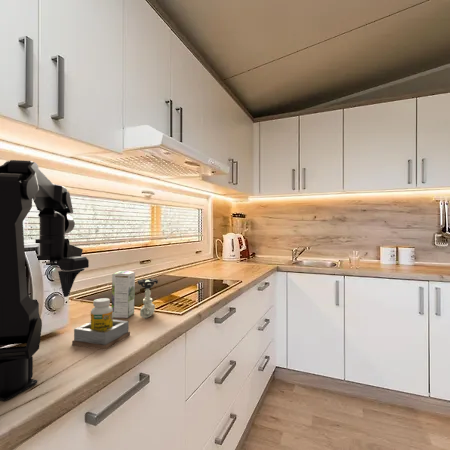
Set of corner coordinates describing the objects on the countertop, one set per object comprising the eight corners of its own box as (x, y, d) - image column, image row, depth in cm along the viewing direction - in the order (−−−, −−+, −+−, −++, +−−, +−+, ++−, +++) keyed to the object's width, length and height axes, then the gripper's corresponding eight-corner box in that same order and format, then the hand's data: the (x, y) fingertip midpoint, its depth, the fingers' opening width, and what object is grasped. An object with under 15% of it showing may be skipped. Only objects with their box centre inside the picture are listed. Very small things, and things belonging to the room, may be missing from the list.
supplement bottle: (112, 331, 83) (112, 296, 83) (113, 338, 78) (113, 301, 78) (90, 334, 81) (91, 298, 81) (90, 341, 76) (90, 303, 76)
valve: (159, 313, 104) (159, 278, 104) (155, 319, 98) (155, 282, 98) (140, 313, 104) (140, 278, 104) (135, 319, 97) (135, 282, 97)
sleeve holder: (105, 350, 74) (105, 333, 74) (72, 345, 77) (72, 329, 77) (130, 335, 83) (130, 321, 83) (99, 331, 86) (99, 317, 86)
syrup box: (118, 312, 104) (118, 270, 104) (135, 313, 104) (135, 270, 104) (111, 318, 99) (111, 273, 99) (128, 318, 98) (129, 273, 98)
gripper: (103, 234, 83) (103, 291, 83) (51, 233, 89) (51, 286, 89) (71, 236, 73) (71, 301, 73) (14, 234, 79) (14, 295, 79)
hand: (52, 295), depth 79 cm, fingers open, 9 cm apart
